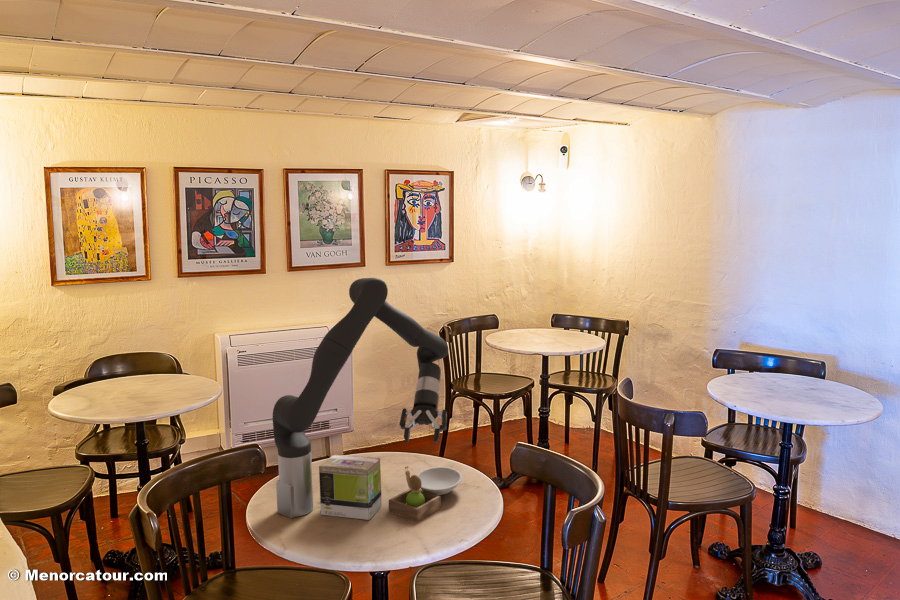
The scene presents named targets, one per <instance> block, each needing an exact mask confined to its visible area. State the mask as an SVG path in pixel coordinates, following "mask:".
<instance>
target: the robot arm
mask: <svg viewBox="0 0 900 600" xmlns="http://www.w3.org/2000/svg"><path fill="white" fill-rule="evenodd" d="M388 291H389V290H388V285H387V283H386V282H385V281H384V280H383V279H381V278H378V277H362V278H358V279H356V280H354V281H353V282H352V283H351V284H350V285H349V289H348V294H349V298H350V300H351V302H352V303H353V306H352V308H351V309H350V310H349V311H348V312H347V313H346V315H344V316H343V318H341V319H340V320H339V321H338V322H337V323H335V324H334V326H333V327H332V328H331V329H330V330H329V331H328V332H326V334H325V335H324V336H323V338H322V340H321V342H320V343H319V344H318V346H317V347H316V350H315V351H314V354H313V358H312V363H311V370H310V375H309V379H308V381H307V383H306V385H305V386H304V388H303V390H302V391H301V392H300V394H299V396H295V395H292V394H291V395H290V394H287V395H283V396H281V397H280V398H278V399H277V401H276V402H275V404H274V406H273V409H272V428H273V429H272V430H273V440H274V443H275V446H276V448H277V463H278V480H276V481H275V486H276V505H277V506H276V508H277V511H276V512H277V513H278V514H280V515H283V516H284V517H287V518H289V519H293V518H296V517H302V516H305V515H307V514H310V513H312V511H313V510H314V497H313V496H314V490H313V489H314V488H313V465H312V464H313V463H312V462H313V461H312V443H311V440H310V439H309V438H308V436H307V435H306V433H305V431H307V430H308V429H309V428H310V427H311V426H312V425H313V423H314V422H315V420H316V419H317V415H319V414H318V413H319V412H320V409H321V407H322V405H323V403H324V402H325V399H326V397H327V395H328V393H329V391H330V389H331V388H332V386H333V384H334V383H335V380H336V379H337V377H338V375H339V374H340V372H341V370H342V369H343V368H344V366H345V364H346V363H347V361H348V359H349V357H350V356H351V354H352V352H353V350H354V349H355V347H356V345H358V342H359V340H360V339H361V337H362V335H363V334H364V332H365V330H366V328H368V326H369V325H370V323H371V321H372V320H373V319H374V317H375V318H376V319H377V320H379V321H380V322H382V323H383V324H384V325H386V326H387V327H388V328H389V329H391V330H392V331H393V332H395V334H397V335H398V336H399V337H400V338H401V339H402V340H403V341H405V343H407V344H408V345H409V346H410V347H413V348H417V350H416V357H417V358H416V359H417V366H418V376H417V383H416V387H415V393H414V400H413V407H412V409H410V410H409V409H407V408H405V407H404V408H402V410H401V415H400V421H399V427H400V430H404V431H403V432H404V433H403V439H404V440H405V443H409V442H410V436H411V430H412V429H413V428H414V427H416V426H417V425H420V426H423V425H426V426H429V425H430V424H431V425H432V427H433V429H434V434H433V443H434V444H437V443H438V442H439V441H440V436H441V435H440V434H441V432H442V431H443V432H445V431H447V425H448V424H447V423H448V421H447V420H448V414H447V413H448V412H447V410H446V409H443V410H441V411H440V410H439V411H438V406H439V398H440V397H439V396H440V382H441V375H442V374H441V370H442V369H441V367H440V365H438V364H437V363H435V362H436V361H439V360H442V359H444V358H446V357H447V356H448V354H449V346H448V344H447V342H446V340H445V339H444V338H442V337H441V336H439V335H438V334H435V333H434V332H432V331H430V330H428V329H425V327H423V326H422V325H421V324H420V323H418V322H417V320H415V319H414V318H413V317H411V316H410V315H408V314H407V313H405V312H404V311H402V310H400V309H398V308H396V307H394V306H393V305H392V304H390V303H389V302H388V301H387V298H388ZM410 415H411V418H410V419H409V420H408V422H407V418H409V416H410ZM437 417H440V419H441V425H439V424H438V422H437V420H436V418H437ZM406 422H407V423H406Z"/></svg>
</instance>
